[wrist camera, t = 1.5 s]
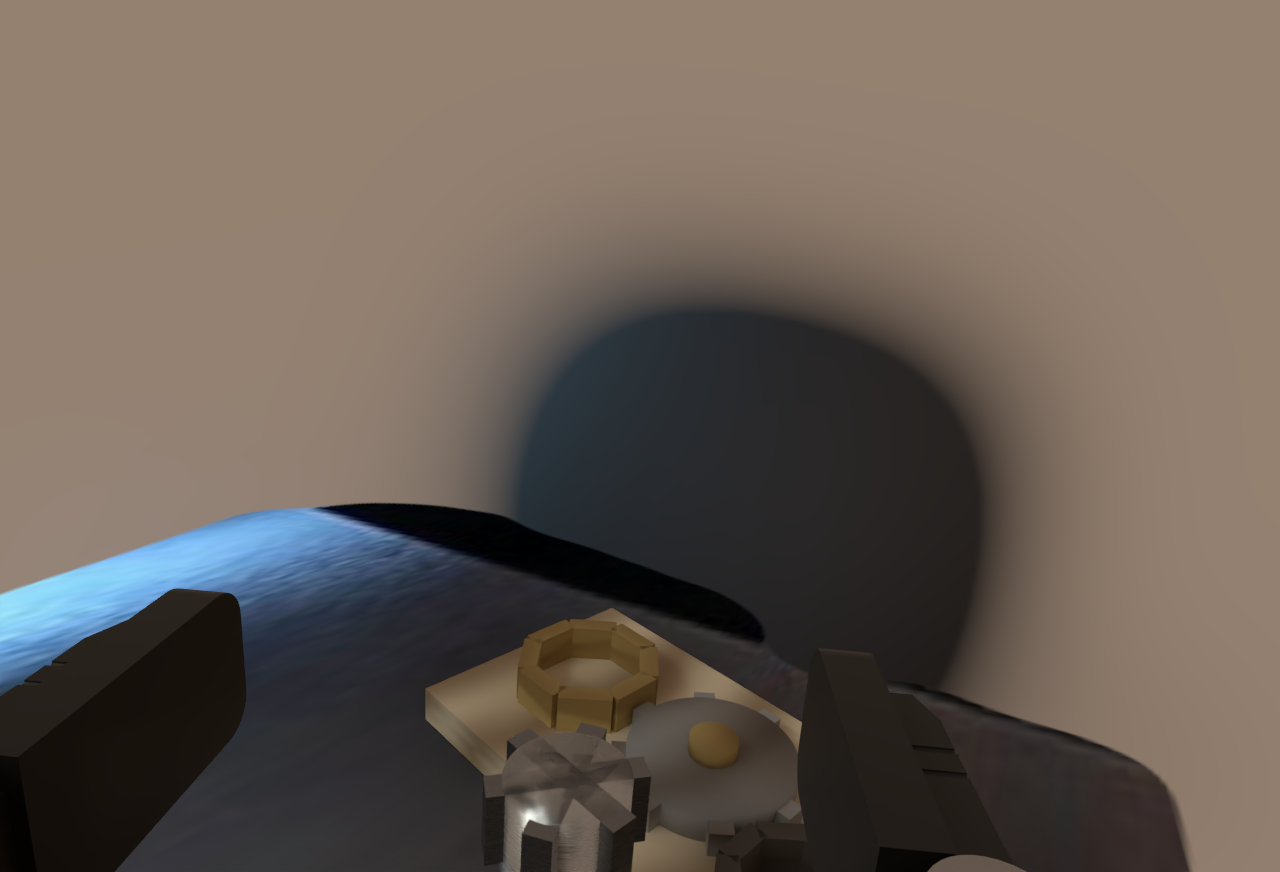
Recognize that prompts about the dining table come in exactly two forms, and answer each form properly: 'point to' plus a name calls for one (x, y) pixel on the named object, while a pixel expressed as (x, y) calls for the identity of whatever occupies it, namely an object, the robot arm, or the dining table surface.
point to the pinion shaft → (565, 804)
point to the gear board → (646, 738)
